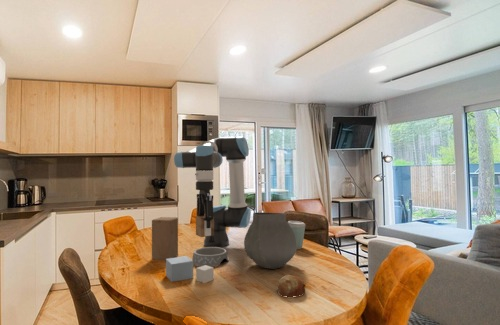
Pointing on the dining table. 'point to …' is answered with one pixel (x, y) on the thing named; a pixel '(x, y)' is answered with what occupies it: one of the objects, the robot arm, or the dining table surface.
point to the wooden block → (164, 238)
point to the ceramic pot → (270, 240)
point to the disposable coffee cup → (298, 232)
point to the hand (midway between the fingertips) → (204, 234)
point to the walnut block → (201, 226)
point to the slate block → (179, 268)
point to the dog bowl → (209, 256)
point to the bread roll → (290, 286)
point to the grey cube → (204, 273)
